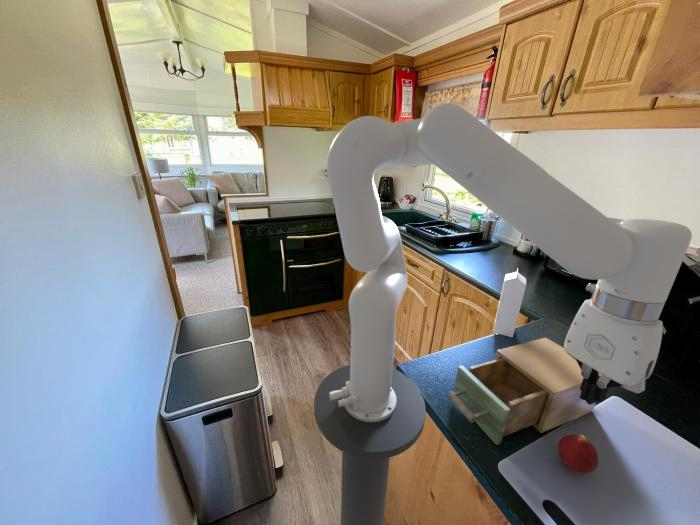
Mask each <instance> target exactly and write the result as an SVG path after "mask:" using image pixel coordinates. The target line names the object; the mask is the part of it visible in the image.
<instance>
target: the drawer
mask: <svg viewBox="0 0 700 525" xmlns="http://www.w3.org/2000/svg"><path fill="white" fill-rule="evenodd" d="M456 370H457V371H456V375H455V382H454V386H453V390H450V391H448V392H447V394H446V395H447V398H448V399H449V401H451V403H453V405H454V406H455V407H456V408H457V409H458V410H459V412H461V414H462V415H463V416H464V417H465V418H466V419H467V420H468V422H469V423H471V424H474V423H476V425H477V426H478V427H479V428H480V429H481V430H482V431H483V432H484V434H486V436H488V438H489V439H490V440H491V441H492V442H493V443H494V444H495V445H496V446H498V445H501V444H502V442H503V438H504V437H506V436H509V435H511V434H513V433H516V432H518V431H521V430H523V429H526V428H528V427H530V426H532V425H533V424H536V423H538V422H540V420H541V417H542V414H543V411H544V408H545V405H546V402H547V399H548V396H549V393H548V392H547V391H545V390H544V389H543V388H541V387H540V386H539V385H537V384H536V383H535V382H534V381H532V380H531V379H530V378H528V377H527V376H526V375H524V374H523V373H522V372H520V371H519V370H518V369H516V368H515V367H514V366H512V365H511V364H510V363H508V362H507V361H506V360H504V359H503V358H500V359H496V360H495V359H493V360H489V361H485V362H482V363H479V364H475V365H471V366H469V370H468V369H467V368H466V366H464V365H461V364H460V365H458V366H457V369H456Z"/></svg>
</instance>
